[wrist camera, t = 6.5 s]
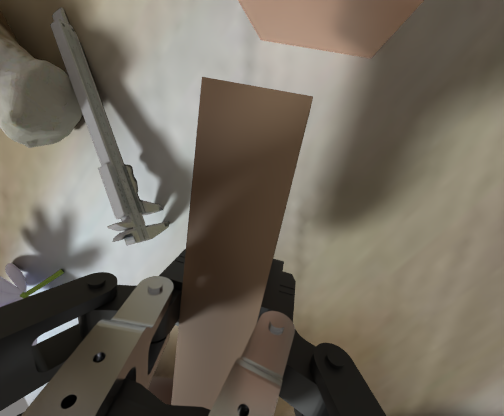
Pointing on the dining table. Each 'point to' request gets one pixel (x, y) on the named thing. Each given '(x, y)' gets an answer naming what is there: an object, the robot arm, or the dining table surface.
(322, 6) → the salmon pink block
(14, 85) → the ceramic sculpture
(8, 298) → the water lily
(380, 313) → the dining table surface
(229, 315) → the walnut bar
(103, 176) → the caliper
